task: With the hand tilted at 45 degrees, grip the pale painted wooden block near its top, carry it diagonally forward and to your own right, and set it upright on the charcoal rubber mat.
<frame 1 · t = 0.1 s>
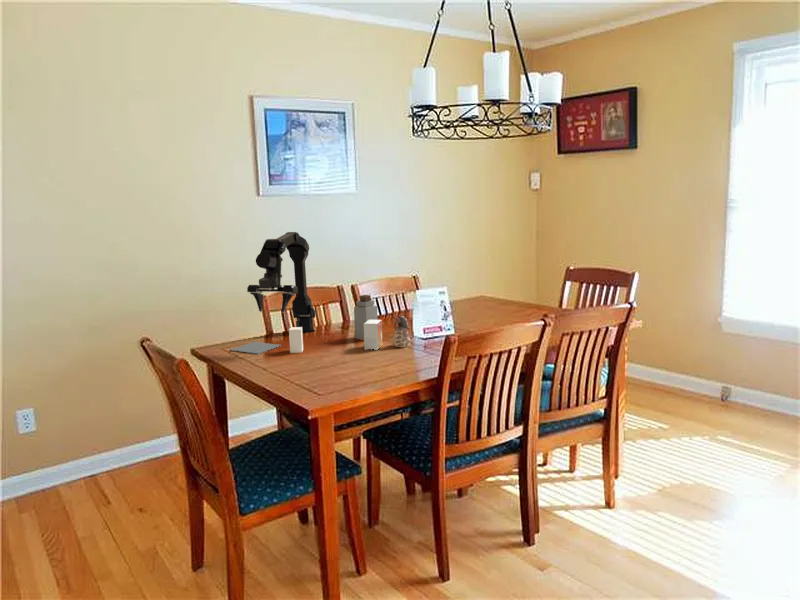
hand: (271, 311, 243), 15 cm above the table, tool pointing down, fingers open, 9 cm apart
grey bottle: (366, 338, 263), on the table
pale block: (296, 351, 244), on the table
small box: (373, 348, 247), on the table
figurine: (401, 346, 249), on the table
charcoal mat: (255, 348, 250), on the table
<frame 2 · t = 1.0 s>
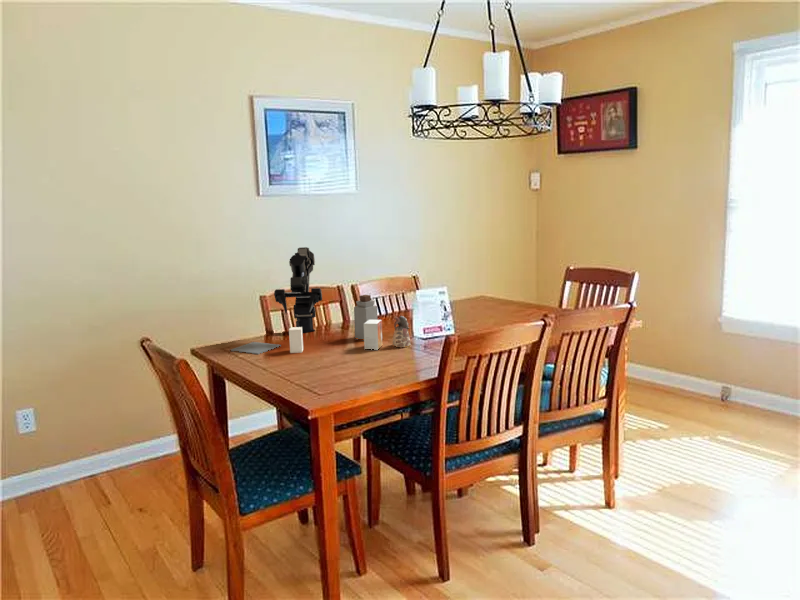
hand: (297, 312, 251), 13 cm above the table, tool tilted 45°, fingers open, 9 cm apart
nothing on the table moved.
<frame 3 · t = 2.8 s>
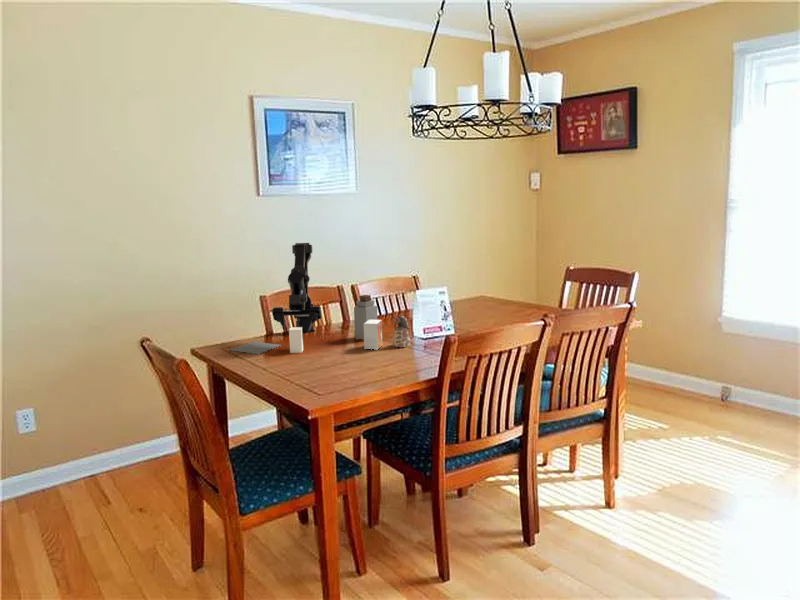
hand: (296, 331, 244), 8 cm above the table, tool tilted 45°, fingers open, 9 cm apart
nothing on the table moved.
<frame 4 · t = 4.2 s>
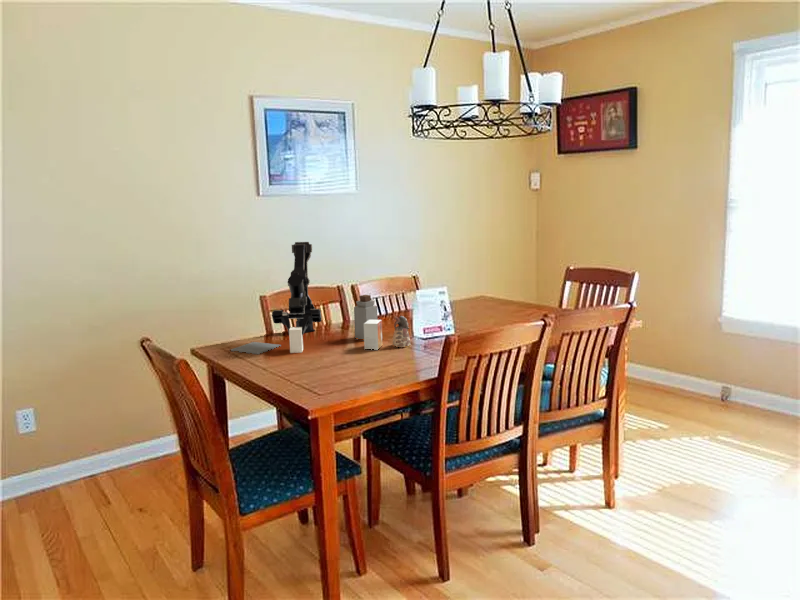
hand: (296, 334, 243), 7 cm above the table, tool tilted 45°, fingers closed on pale block, 4 cm apart
pale block: (296, 351, 244), on the table, touching gripper
everything else where it was.
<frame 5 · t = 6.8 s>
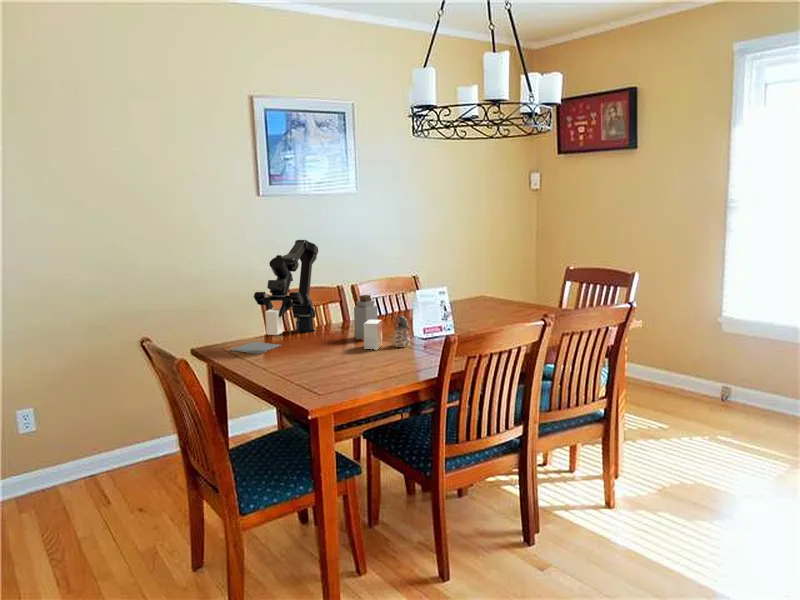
hand: (273, 316, 244), 13 cm above the table, tool tilted 45°, fingers closed on pale block, 4 cm apart
pale block: (274, 333, 245), point 7 cm above the table, touching gripper
everything else where it was.
when the fingers open (8 cm above the table, at t = 9.7 s): pale block stays where it is, resting on charcoal mat.
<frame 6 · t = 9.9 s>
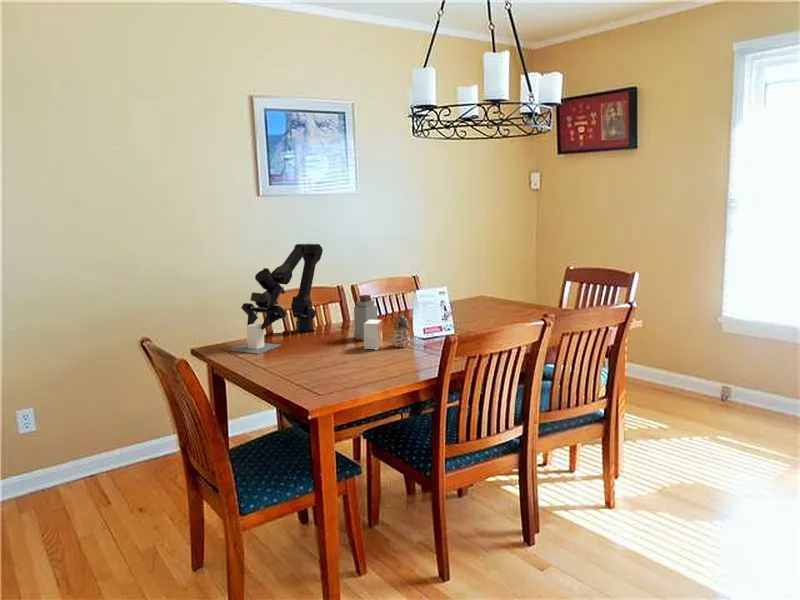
hand: (254, 328, 249), 8 cm above the table, tool tilted 45°, fingers open, 7 cm apart
pale block: (256, 347, 250), point 1 cm above the table, touching charcoal mat
everything else where it was.
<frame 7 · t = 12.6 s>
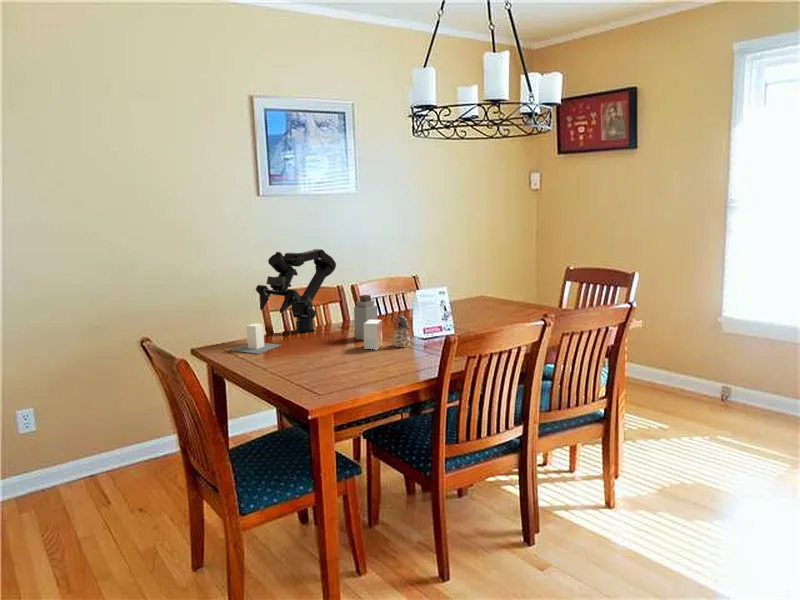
hand: (270, 311, 257), 13 cm above the table, tool tilted 40°, fingers open, 9 cm apart
nothing on the table moved.
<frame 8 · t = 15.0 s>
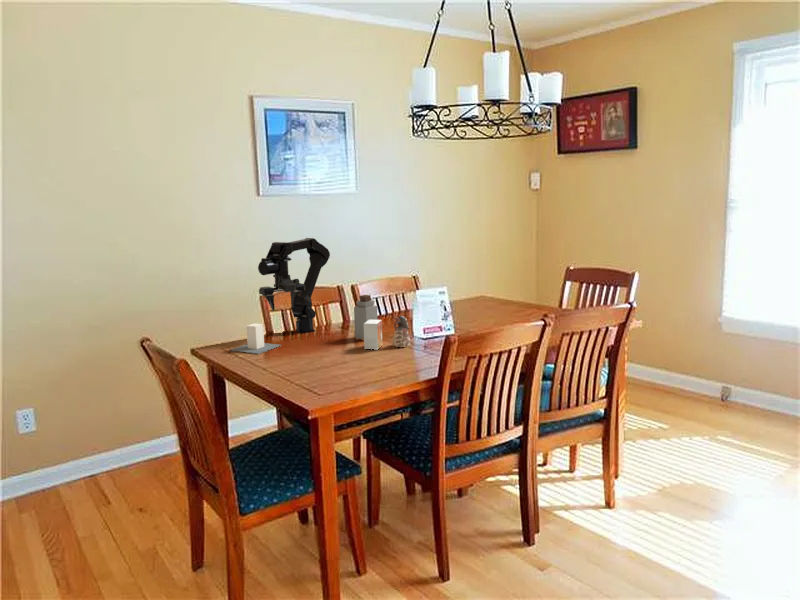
hand: (283, 309, 267), 12 cm above the table, tool pointing down, fingers open, 9 cm apart
nothing on the table moved.
at the end: pale block inside the target area on the charcoal mat (0.1 cm from its centre), point 0.5 cm above the charcoal mat's base; pale block tilted 0°; the gripper is holding nothing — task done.
